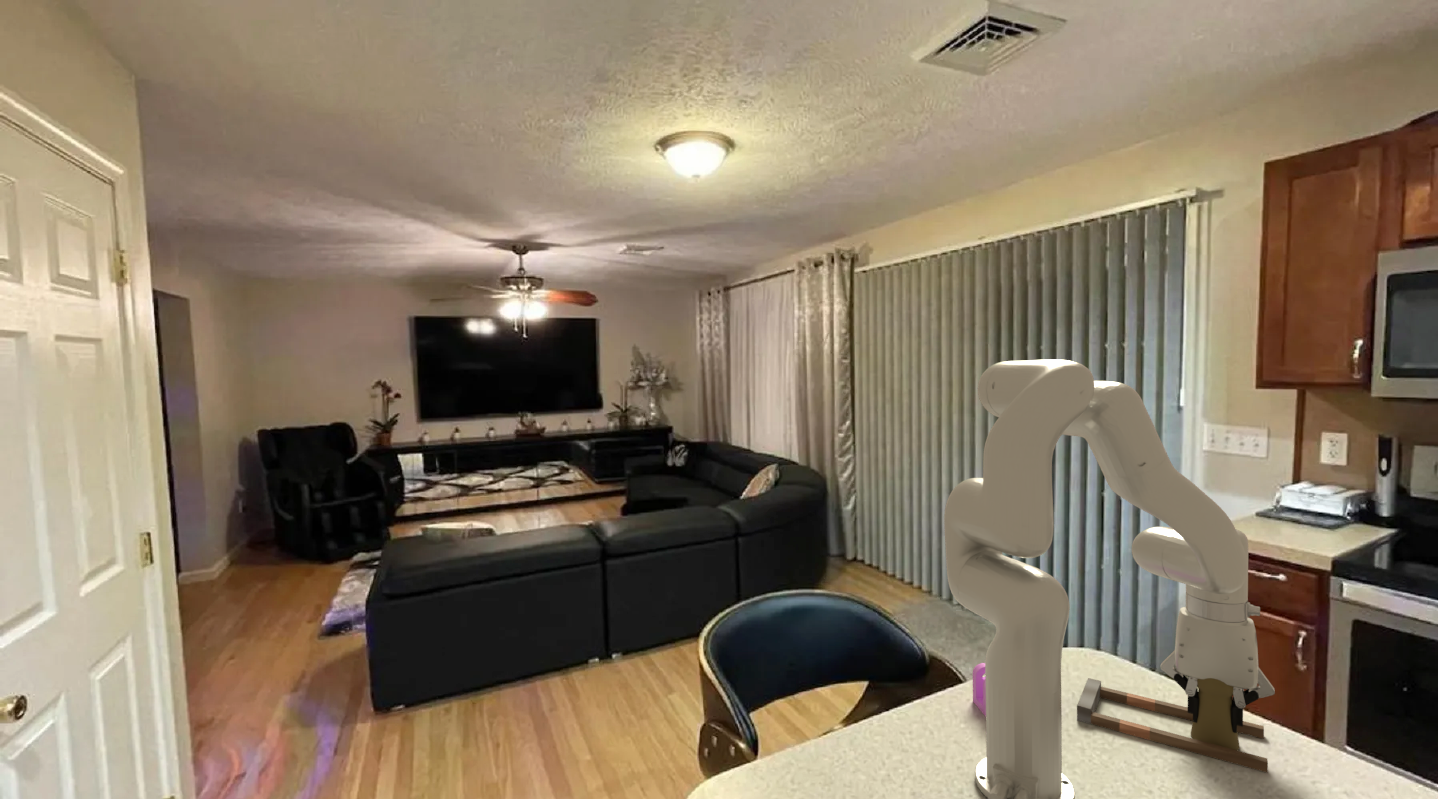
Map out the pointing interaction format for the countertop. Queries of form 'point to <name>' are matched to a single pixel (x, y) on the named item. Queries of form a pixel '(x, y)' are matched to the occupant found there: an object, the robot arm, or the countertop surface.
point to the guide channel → (1088, 715)
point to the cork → (1215, 714)
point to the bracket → (979, 687)
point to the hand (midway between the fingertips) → (1214, 722)
